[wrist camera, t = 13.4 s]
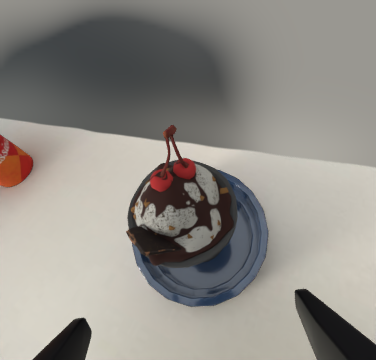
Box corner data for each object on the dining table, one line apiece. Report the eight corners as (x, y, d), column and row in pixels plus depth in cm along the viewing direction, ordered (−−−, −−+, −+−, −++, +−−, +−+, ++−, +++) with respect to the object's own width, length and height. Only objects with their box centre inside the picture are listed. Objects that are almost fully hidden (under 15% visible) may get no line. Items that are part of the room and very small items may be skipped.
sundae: (217, 196, 23) (203, 83, 9) (244, 257, 20) (278, 217, 6) (162, 218, 23) (69, 135, 10) (180, 281, 20) (81, 292, 6)
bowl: (267, 192, 23) (274, 178, 19) (252, 319, 18) (258, 329, 15) (165, 175, 26) (155, 160, 22) (130, 280, 21) (112, 280, 18)
